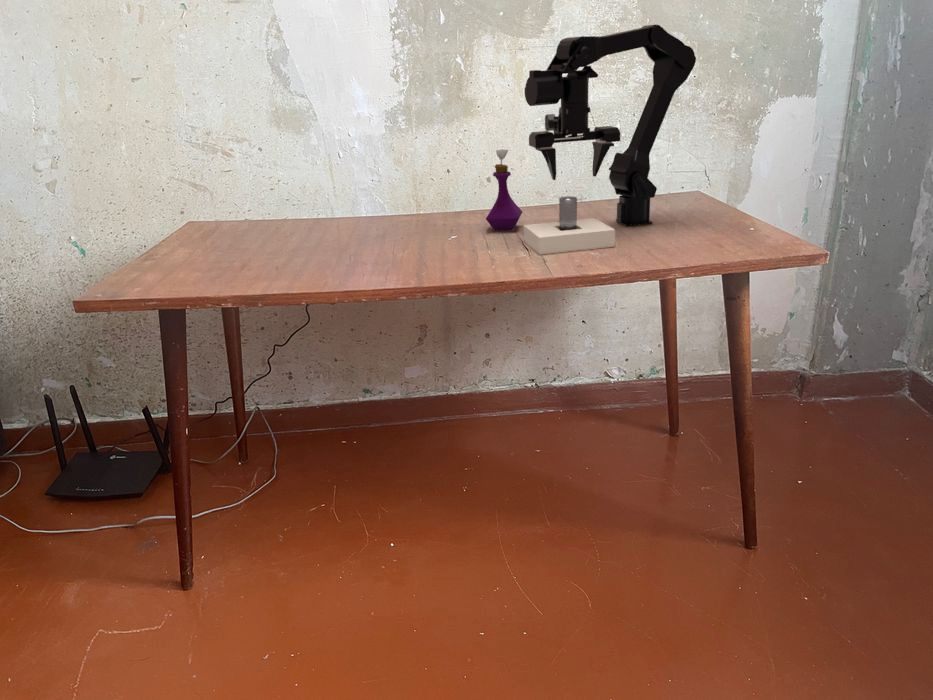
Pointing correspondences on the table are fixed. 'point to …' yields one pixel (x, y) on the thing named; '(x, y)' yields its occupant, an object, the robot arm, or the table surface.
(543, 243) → the socket board
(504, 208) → the perfume bottle
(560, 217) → the pin
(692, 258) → the table surface
